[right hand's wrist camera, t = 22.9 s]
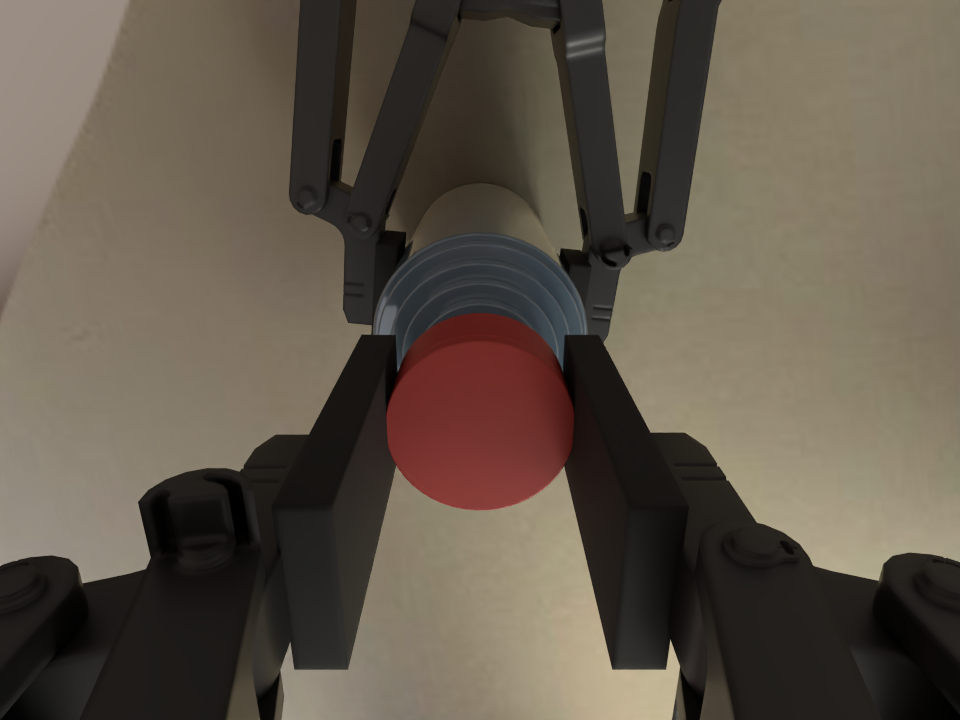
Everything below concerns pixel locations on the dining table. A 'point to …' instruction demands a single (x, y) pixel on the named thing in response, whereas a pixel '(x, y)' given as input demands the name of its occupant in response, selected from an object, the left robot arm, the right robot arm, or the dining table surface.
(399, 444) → the cap
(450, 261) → the bottle
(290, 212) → the dining table surface
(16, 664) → the right robot arm
